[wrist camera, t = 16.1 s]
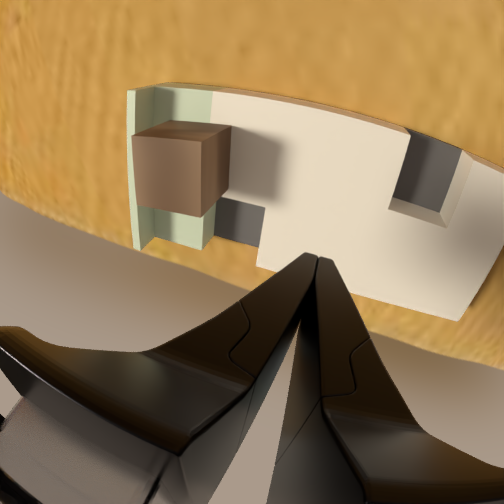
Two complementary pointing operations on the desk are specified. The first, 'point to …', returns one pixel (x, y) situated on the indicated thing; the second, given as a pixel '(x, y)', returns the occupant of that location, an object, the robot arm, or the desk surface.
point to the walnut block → (181, 166)
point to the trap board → (335, 195)
